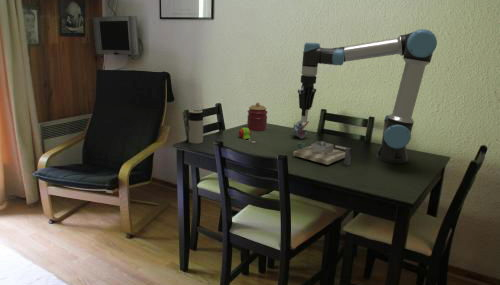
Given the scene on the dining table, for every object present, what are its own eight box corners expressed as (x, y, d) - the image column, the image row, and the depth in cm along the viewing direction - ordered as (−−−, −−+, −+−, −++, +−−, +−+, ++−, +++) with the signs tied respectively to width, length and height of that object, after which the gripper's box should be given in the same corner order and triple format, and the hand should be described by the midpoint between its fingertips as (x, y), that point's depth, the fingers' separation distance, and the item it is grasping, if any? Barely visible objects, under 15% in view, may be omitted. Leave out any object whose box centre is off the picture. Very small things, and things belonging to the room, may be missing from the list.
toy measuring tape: (245, 135, 240) (246, 125, 238) (259, 143, 223) (259, 132, 221) (235, 136, 238) (236, 125, 236) (248, 144, 220) (249, 133, 219)
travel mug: (204, 141, 224) (204, 110, 219) (201, 144, 216) (201, 112, 211) (190, 140, 224) (190, 109, 220) (187, 143, 217) (186, 111, 212)
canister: (257, 126, 266) (258, 100, 261) (270, 130, 256) (272, 103, 251) (242, 128, 257) (243, 101, 253) (255, 132, 248) (256, 105, 243)
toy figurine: (307, 141, 232) (308, 121, 229) (288, 139, 234) (290, 119, 231) (308, 136, 243) (309, 117, 239) (290, 135, 245) (291, 116, 241)
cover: (332, 152, 200) (333, 142, 198) (324, 155, 194) (325, 145, 192) (319, 148, 205) (320, 139, 203) (310, 151, 199) (311, 141, 198)
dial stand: (349, 165, 190) (351, 148, 188) (347, 166, 189) (349, 149, 187) (335, 161, 195) (336, 145, 193) (333, 162, 194) (334, 145, 192)
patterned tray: (347, 156, 200) (348, 148, 199) (327, 164, 186) (328, 156, 185) (308, 146, 216) (309, 139, 215) (286, 153, 201) (287, 146, 200)
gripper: (310, 73, 199) (305, 119, 206) (294, 74, 190) (290, 122, 196) (322, 75, 194) (317, 121, 201) (307, 76, 185) (302, 125, 192)
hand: (303, 122), depth 199 cm, fingers closed
